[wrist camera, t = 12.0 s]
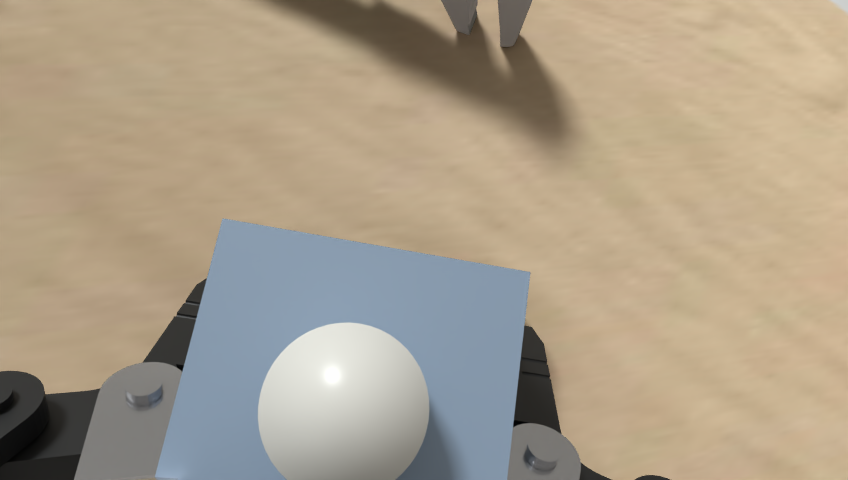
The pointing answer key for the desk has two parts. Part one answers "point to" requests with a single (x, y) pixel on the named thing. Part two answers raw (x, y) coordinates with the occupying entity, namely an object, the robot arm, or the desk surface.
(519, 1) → the caliper
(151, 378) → the robot arm
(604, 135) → the desk surface
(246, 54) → the desk surface
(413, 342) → the blue gray block
